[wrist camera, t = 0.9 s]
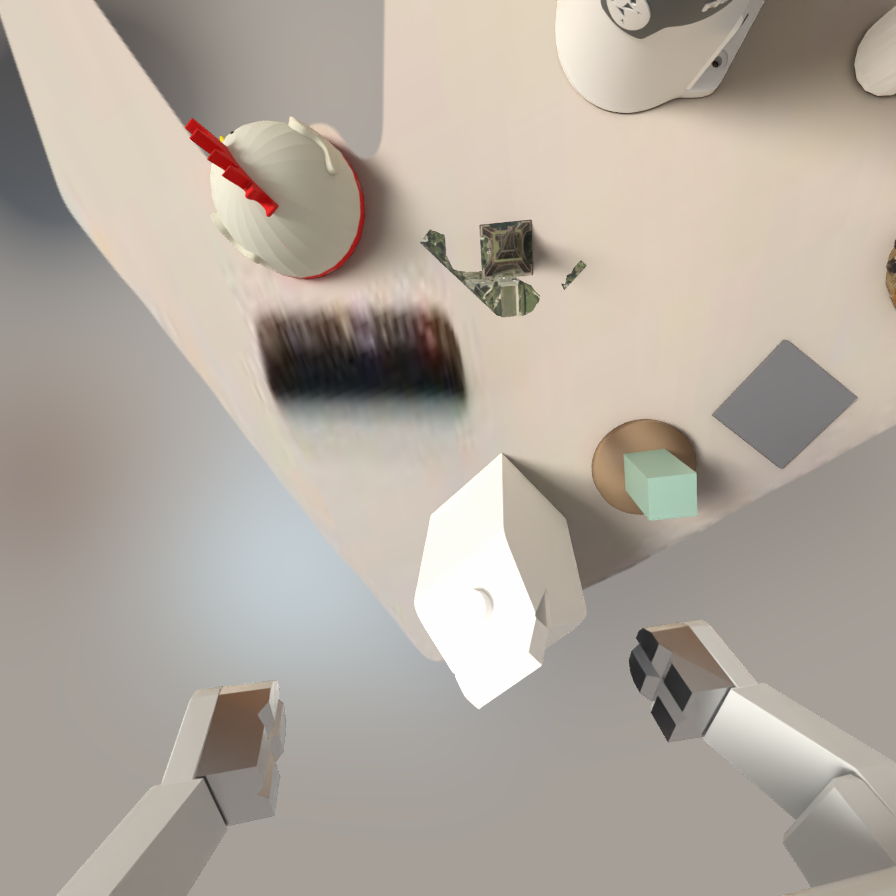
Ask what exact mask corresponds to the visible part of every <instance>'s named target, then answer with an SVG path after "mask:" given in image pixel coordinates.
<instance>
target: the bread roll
mask: <svg viewBox="0 0 896 896" xmlns="http://www.w3.org/2000/svg"><path fill="white" fill-rule="evenodd" d="M894 247H895V248H894V249H893V250H892V251H891V253H890V255H889V260H888V263H887V274H886V285H887V288H888V291H889V293H890V298H891V299H892V301H893V304H894V306H895V307H896V240H895V246H894Z"/></svg>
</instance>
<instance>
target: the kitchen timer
mask: <svg viewBox="0 0 896 896" xmlns="http://www.w3.org/2000/svg"><path fill="white" fill-rule="evenodd" d="M185 128H186V129H187V130H188V131H189V132H190V133H191V134H192V135H191V137H190V139H191V140H192V141H193V142H194V143H196V144H197V145H198V146H200V147H201V148H203V149H204V150H205V151H207V152H208V153H209V154H211V155H210V156H209V157H208V158H207V159H208V160H209V161H210V162H212V165H211V175H210V184H211V191H212V198H213V202H214V204H215V207H216V209H217V212H214V213H212V214H211V218H212V220H213V222H214V224H215V226H216V227H217V228H218V230H219V231H220V232H221V233H222V234H223V235H224V236H225V237H226V238H227V239H228V240H229V241H230V242H231V243H232V244H233V245H234V246H235V247H236V248H237V249H238V250H239V251H240V252H241V253H242V254H243V255H244V256H246V257H247V258H249V259H250V260H252V261H254V262H255V263H257V264H258V263H260V264H261V265H262V266H264V267H266V268H268V269H270V270H273V271H275V272H277V273H279V274H281V275H284V276H289V277H295V278H303V279H311V278H316V277H322V276H325V275H327V274H329V273H331V272H333V271H334V270H336V269H338V268H340V267H341V266H342V265H343V264H344V263H345V261H346V260H347V259H348V258H349V257H350V256H351V255H352V254H353V252H354V250H355V248H356V246H357V244H358V242H359V240H360V238H361V234H362V229H363V224H364V219H365V213H364V196H363V193H362V190H361V187H360V184H359V181H358V177H357V175H356V173H355V172H354V170H353V169H352V167H351V166H350V164H349V162H348V161H347V159H346V158H345V157H344V156H343V154H342V153H341V152H340V151H339V150H337V149H336V148H335V147H334V146H333V145H332V144H331V143H330V142H329V141H328V140H326V139H325V138H324V137H323V136H322V135H320V134H319V133H318V132H316V131H315V130H313V129H312V128H310V127H309V126H307V125H305V124H304V123H302V122H300V121H299V120H297V119H295V118H293V117H291V116H290V119H289V123H283V122H275V121H266V120H264V121H259V122H255V123H250V124H246V125H243V126H241V127H239V128H238V129H236V130H235V131H233V132H231V133H230V134H229V135H227V137H226V138H225V137H223V136H220V140H218V139H217V138H216V137H215V136H214V135H212V134H211V133H210V132H209V131H208V130H206V129H205V128H204V127H203V126H202V125H200V124H199V123H198V122H197V121H195V120H194V119H193V118H191V120H190V121H189V123H188V124H187V125H186V127H185Z"/></svg>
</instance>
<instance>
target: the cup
mask: <svg viewBox="0 0 896 896" xmlns="http://www.w3.org/2000/svg"><path fill="white" fill-rule="evenodd" d="M854 65H855V71H856V77H857V80H858V82H859V83H860V84H861V86H862V87H863V88H864V90H865V91H868V92H870V93H872V94H874V95H876V96H884V95H894V94H896V6H894V7H893V8H892V9H891V10H890V11H889V12H887V13H886V14H885V15H884V16H883V17H881V18H880V19H879V20H878V21H877V22H876V23H875V24H874V25H873V26H872V27H871V28H870V29H869V30H868V31H867V32H866V34H865V36H864V38H863V39H862V41H861V43H860V45H859V46H858V49H857V54H856V59H855V64H854Z"/></svg>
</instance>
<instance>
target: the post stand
mask: <svg viewBox="0 0 896 896" xmlns="http://www.w3.org/2000/svg"><path fill="white" fill-rule="evenodd" d="M658 449H666V450H667V451H668V452H670V453H671V454H672V455H674V456H675V457H676V458H677V459H679V460H680V461H681V462H683V463H684V464H685V465H687V466H688V467H689V468H691V469H692V470H693V471H695V472H696V456H695V452H694V450H693V447H692V445H691V444H690V442H689V440H688V439H687V438H686V437H685V436H684V435H683V434H682V433H681V432H680V431H678V430H677V429H675V428H673V427H672V426H670V425H668V424H666V423H664V422H661V421H657V420H651V419H640V420H634V421H630V422H627V423H624V424H622V425H620V426H618V427H616V428H615V429H613V430H612V431H611V432H609V433H608V434H607V435H606V436H605V437H604V438H603V439H602V441H601V442H600V443H599V445H598V447H597V448H596V451H595V453H594V456H593V460H592V476H593V480H594V483H595V485H596V487H597V489H598V490H599V492H600V493H601V495H602V496H603V498H604V499H605V500H606V501H607V502H608V503H609V504H610V505H612V506H613V507H615V508H616V509H619V510H621V511H623V512H626V513H631V514H640V515H641V514H644V513H643V512H642V511H641V509H640V508H639V507H638V505H637V504H636V503H635V502H634V500H633V499H632V498H631V496H630V495H629V494H628V493H627V491H626V489H625V471H624V454H626V453H634V452H642V451H650V450H658Z"/></svg>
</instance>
